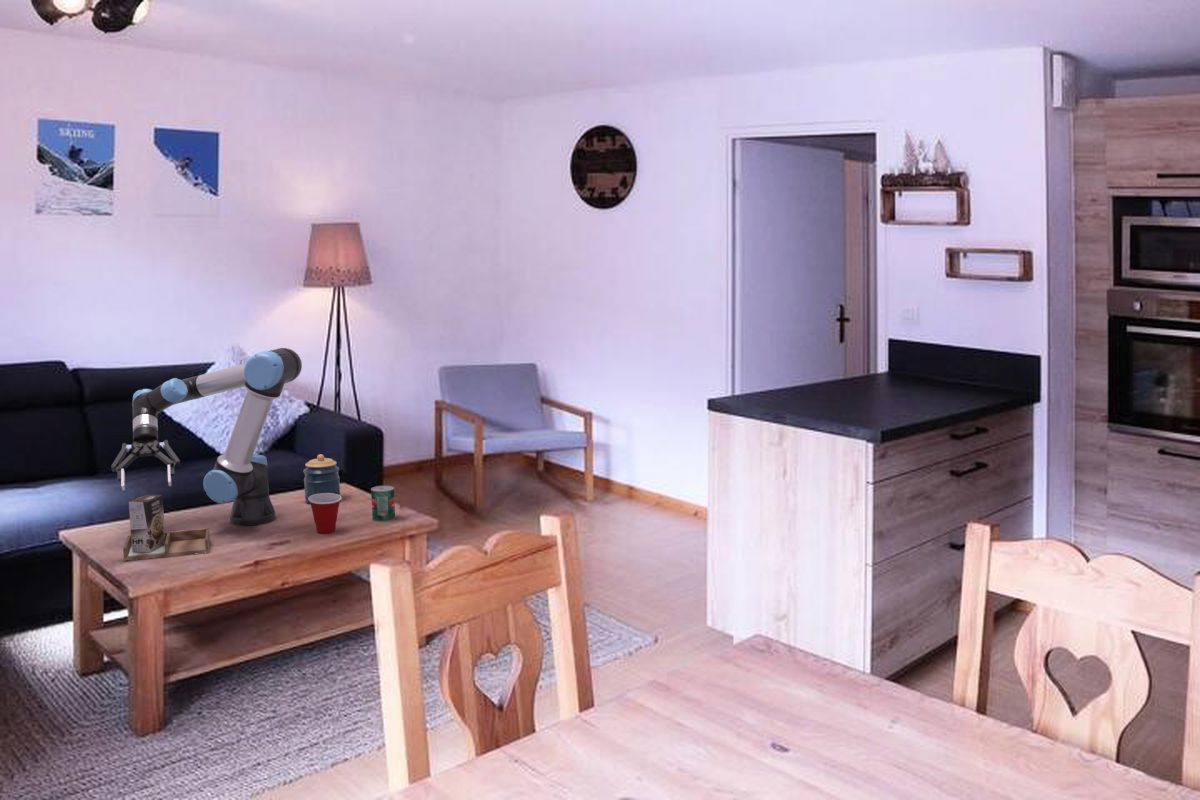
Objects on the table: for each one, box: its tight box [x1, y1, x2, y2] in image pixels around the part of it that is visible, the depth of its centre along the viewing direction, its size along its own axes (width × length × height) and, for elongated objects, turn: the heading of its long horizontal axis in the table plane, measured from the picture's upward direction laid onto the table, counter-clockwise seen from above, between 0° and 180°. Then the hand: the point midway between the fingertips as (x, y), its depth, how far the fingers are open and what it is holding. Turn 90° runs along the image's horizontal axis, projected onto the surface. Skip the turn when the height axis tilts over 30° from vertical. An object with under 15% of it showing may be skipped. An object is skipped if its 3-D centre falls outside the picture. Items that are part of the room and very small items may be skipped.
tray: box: [122, 527, 211, 562], centre depth 318 cm, size 24×14×4 cm, turn 109°
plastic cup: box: [308, 493, 343, 535], centre depth 337 cm, size 11×11×12 cm
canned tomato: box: [370, 485, 396, 523], centre depth 352 cm, size 8×8×11 cm
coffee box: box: [128, 494, 166, 553], centre depth 316 cm, size 9×6×16 cm
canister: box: [302, 453, 342, 505], centre depth 378 cm, size 13×13×18 cm
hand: (146, 486), depth 323 cm, fingers open, 13 cm apart
